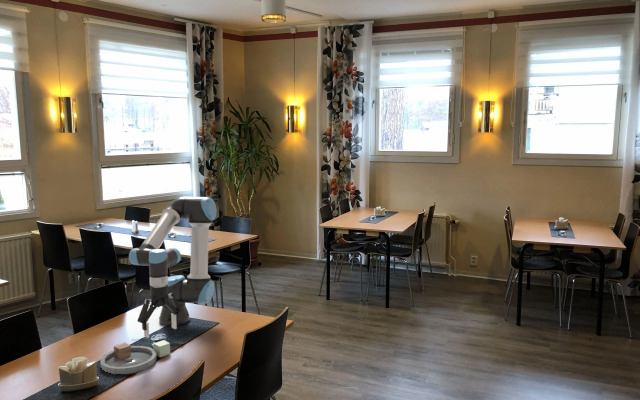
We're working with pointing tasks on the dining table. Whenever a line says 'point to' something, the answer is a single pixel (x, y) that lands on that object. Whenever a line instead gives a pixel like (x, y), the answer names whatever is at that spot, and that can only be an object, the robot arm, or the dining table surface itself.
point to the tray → (129, 361)
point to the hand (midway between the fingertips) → (160, 332)
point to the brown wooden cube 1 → (122, 351)
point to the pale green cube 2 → (162, 348)
